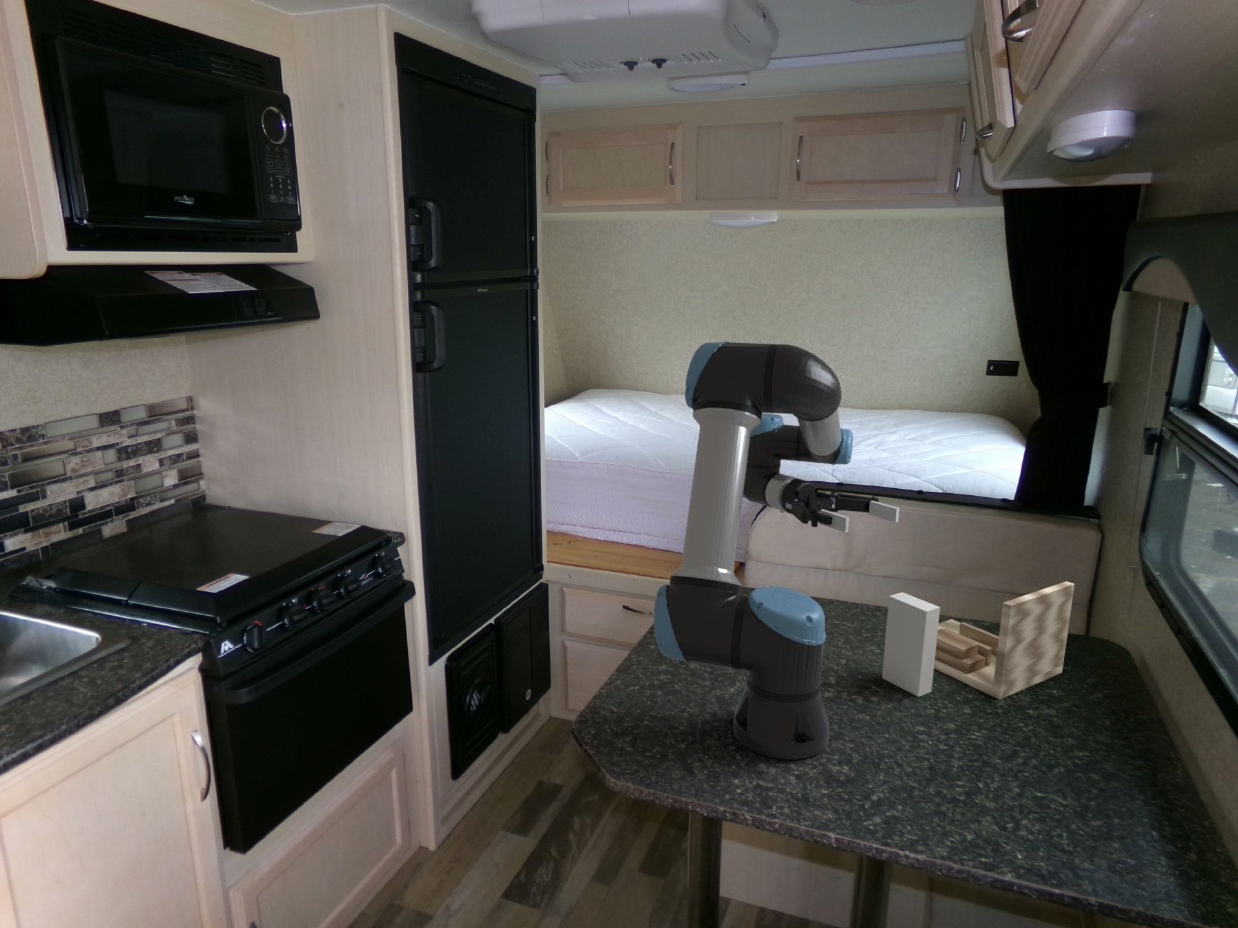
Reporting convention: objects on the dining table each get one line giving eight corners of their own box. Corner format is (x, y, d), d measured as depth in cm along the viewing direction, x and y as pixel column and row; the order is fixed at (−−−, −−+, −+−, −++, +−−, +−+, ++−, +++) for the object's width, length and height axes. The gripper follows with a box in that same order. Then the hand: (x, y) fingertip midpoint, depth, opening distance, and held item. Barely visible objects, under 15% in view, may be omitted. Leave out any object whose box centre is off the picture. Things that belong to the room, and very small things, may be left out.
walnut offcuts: (967, 674, 149) (969, 653, 148) (921, 652, 157) (923, 633, 156) (984, 667, 151) (987, 647, 151) (938, 646, 160) (940, 627, 159)
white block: (918, 696, 144) (926, 611, 140) (882, 677, 150) (889, 595, 147) (931, 691, 146) (940, 607, 142) (894, 673, 152) (902, 592, 149)
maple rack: (999, 699, 143) (1011, 605, 139) (889, 646, 163) (896, 563, 159) (1061, 672, 153) (1074, 583, 149) (950, 625, 173) (959, 546, 169)
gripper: (834, 505, 179) (915, 530, 161) (745, 520, 166) (823, 549, 148) (836, 472, 177) (918, 492, 159) (747, 484, 164) (826, 508, 146)
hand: (873, 520), depth 154 cm, fingers open, 13 cm apart
